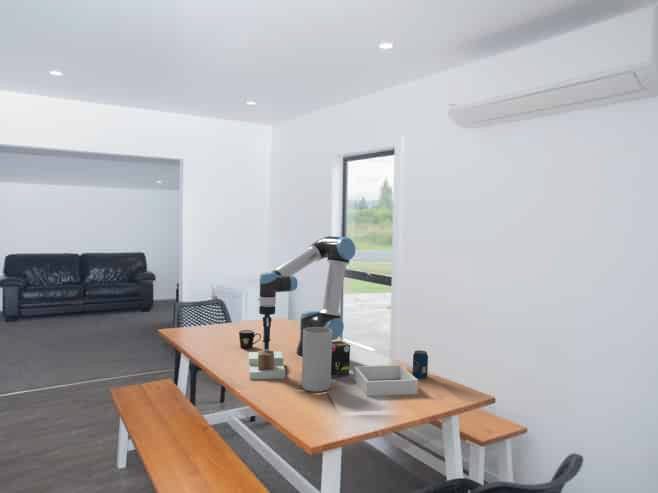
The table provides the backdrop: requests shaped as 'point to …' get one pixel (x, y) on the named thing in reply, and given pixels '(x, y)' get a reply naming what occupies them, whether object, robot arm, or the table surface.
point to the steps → (266, 374)
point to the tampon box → (340, 359)
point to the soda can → (420, 364)
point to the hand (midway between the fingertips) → (266, 354)
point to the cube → (265, 360)
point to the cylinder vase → (316, 359)
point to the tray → (386, 387)
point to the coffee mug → (247, 338)
